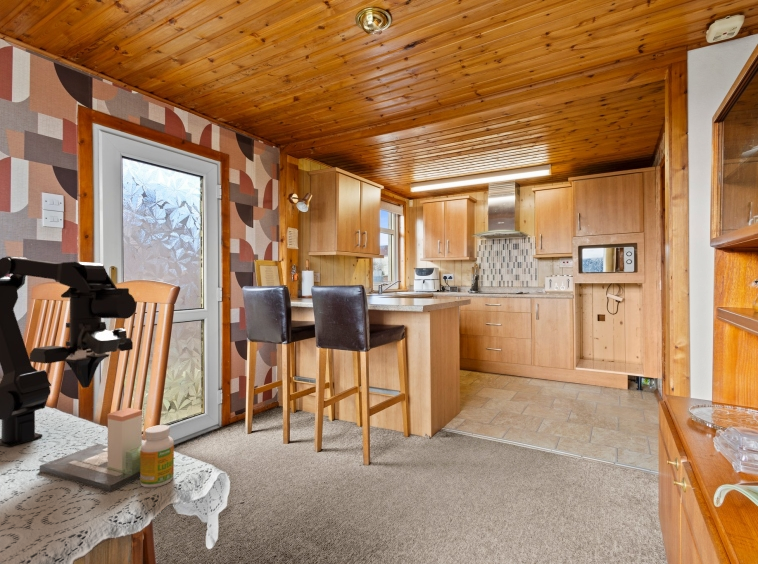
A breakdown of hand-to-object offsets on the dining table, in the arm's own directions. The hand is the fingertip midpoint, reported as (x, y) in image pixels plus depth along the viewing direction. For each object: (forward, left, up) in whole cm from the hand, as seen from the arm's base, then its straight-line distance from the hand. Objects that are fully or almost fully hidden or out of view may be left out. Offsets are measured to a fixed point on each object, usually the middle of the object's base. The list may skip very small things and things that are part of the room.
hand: (85, 387), depth 89 cm
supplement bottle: (+29, -6, -13) cm, 32 cm away
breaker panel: (+15, -6, -13) cm, 21 cm away
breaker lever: (+20, -5, -12) cm, 23 cm away
